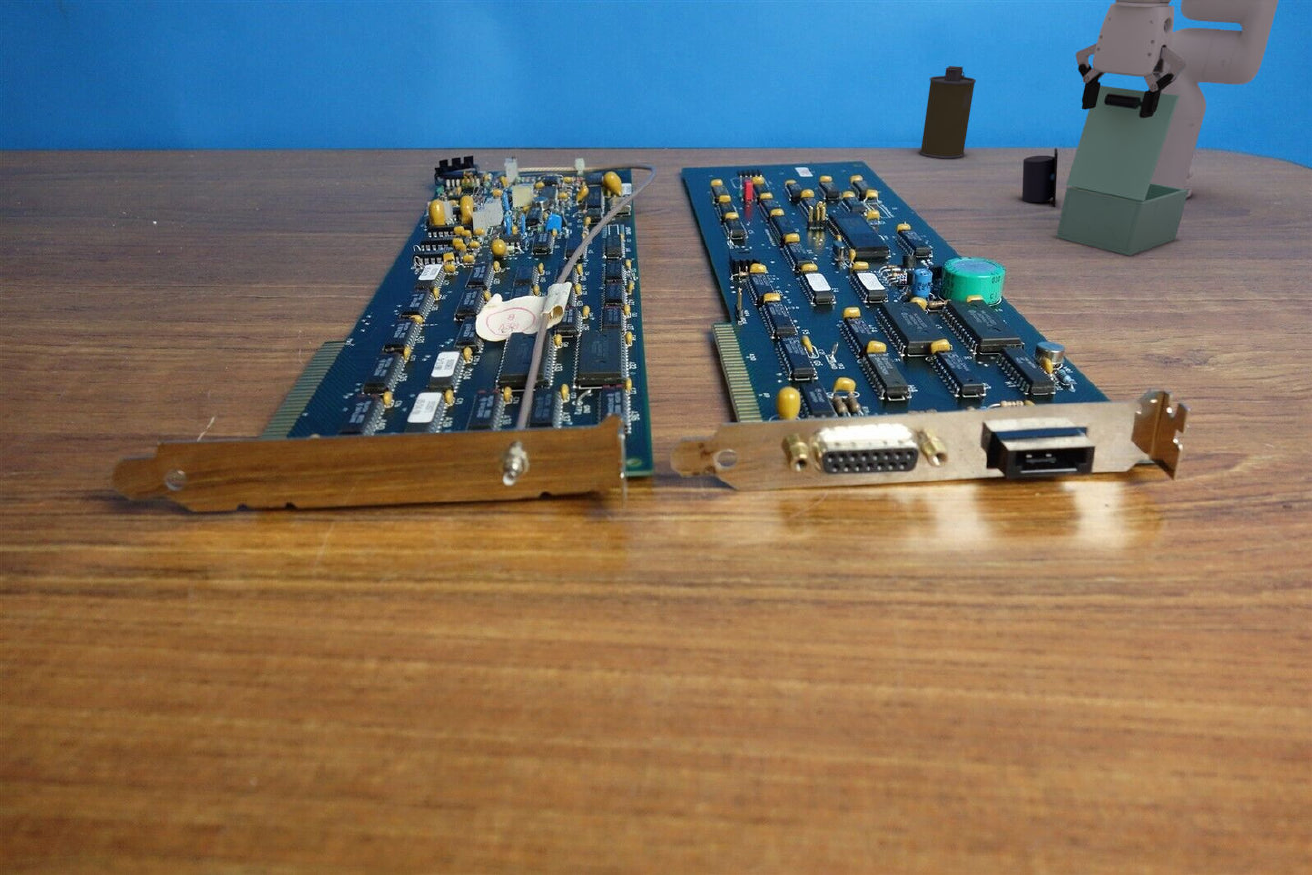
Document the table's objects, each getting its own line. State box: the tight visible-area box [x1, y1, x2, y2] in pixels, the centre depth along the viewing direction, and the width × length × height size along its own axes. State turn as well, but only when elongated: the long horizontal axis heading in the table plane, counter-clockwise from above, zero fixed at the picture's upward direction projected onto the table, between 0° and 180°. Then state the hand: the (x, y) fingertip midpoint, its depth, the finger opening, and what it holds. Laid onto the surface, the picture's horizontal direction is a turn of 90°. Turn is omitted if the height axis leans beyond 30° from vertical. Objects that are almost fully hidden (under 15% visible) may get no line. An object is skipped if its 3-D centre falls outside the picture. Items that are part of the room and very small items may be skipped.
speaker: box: [1021, 147, 1059, 208], centre depth 187 cm, size 8×6×10 cm
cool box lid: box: [1066, 85, 1180, 201], centre depth 153 cm, size 16×14×5 cm
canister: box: [919, 65, 976, 160], centre depth 224 cm, size 11×10×20 cm
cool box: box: [1056, 183, 1189, 257], centre depth 164 cm, size 16×14×9 cm
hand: (1116, 112), depth 150 cm, fingers open, 9 cm apart
